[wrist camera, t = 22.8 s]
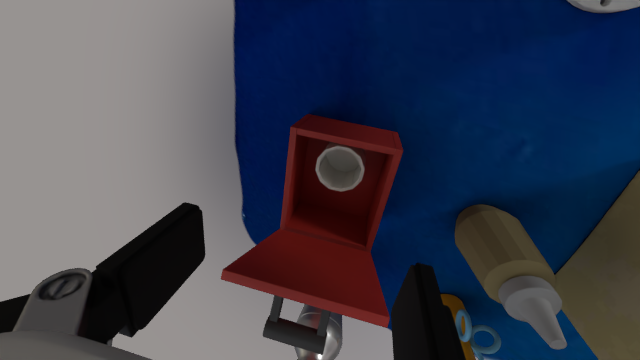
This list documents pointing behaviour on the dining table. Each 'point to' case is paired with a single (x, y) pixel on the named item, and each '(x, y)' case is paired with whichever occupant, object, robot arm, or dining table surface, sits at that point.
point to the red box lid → (310, 284)
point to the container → (341, 166)
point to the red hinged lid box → (330, 205)
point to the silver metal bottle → (334, 331)
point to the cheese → (607, 281)
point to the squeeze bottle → (510, 268)
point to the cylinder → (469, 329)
